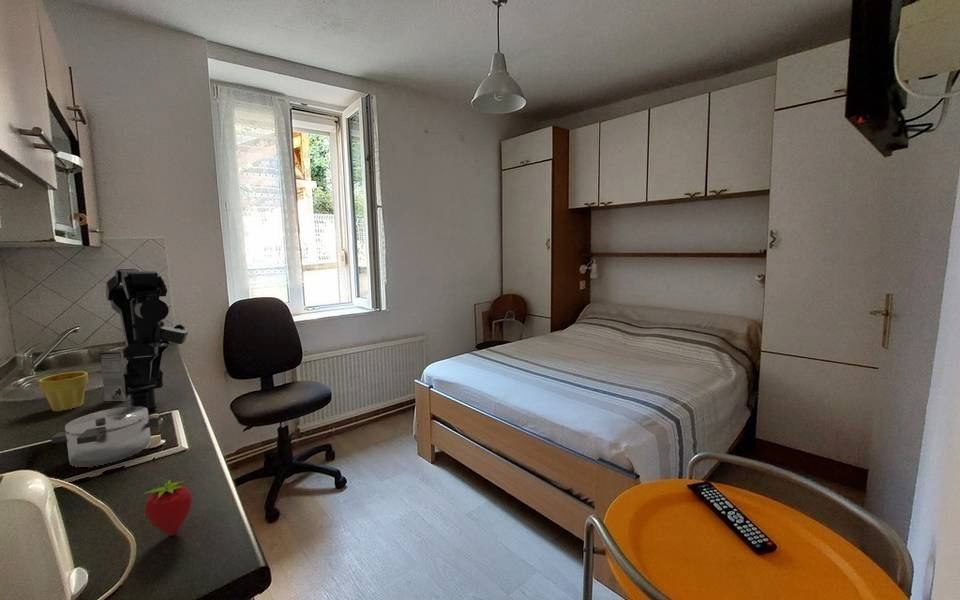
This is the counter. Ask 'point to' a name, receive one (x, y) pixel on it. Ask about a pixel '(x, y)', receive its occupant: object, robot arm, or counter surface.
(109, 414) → the cooker lid
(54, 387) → the plant pot
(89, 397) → the counter surface
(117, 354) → the coffee box
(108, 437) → the cooker pot
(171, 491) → the strawberry
